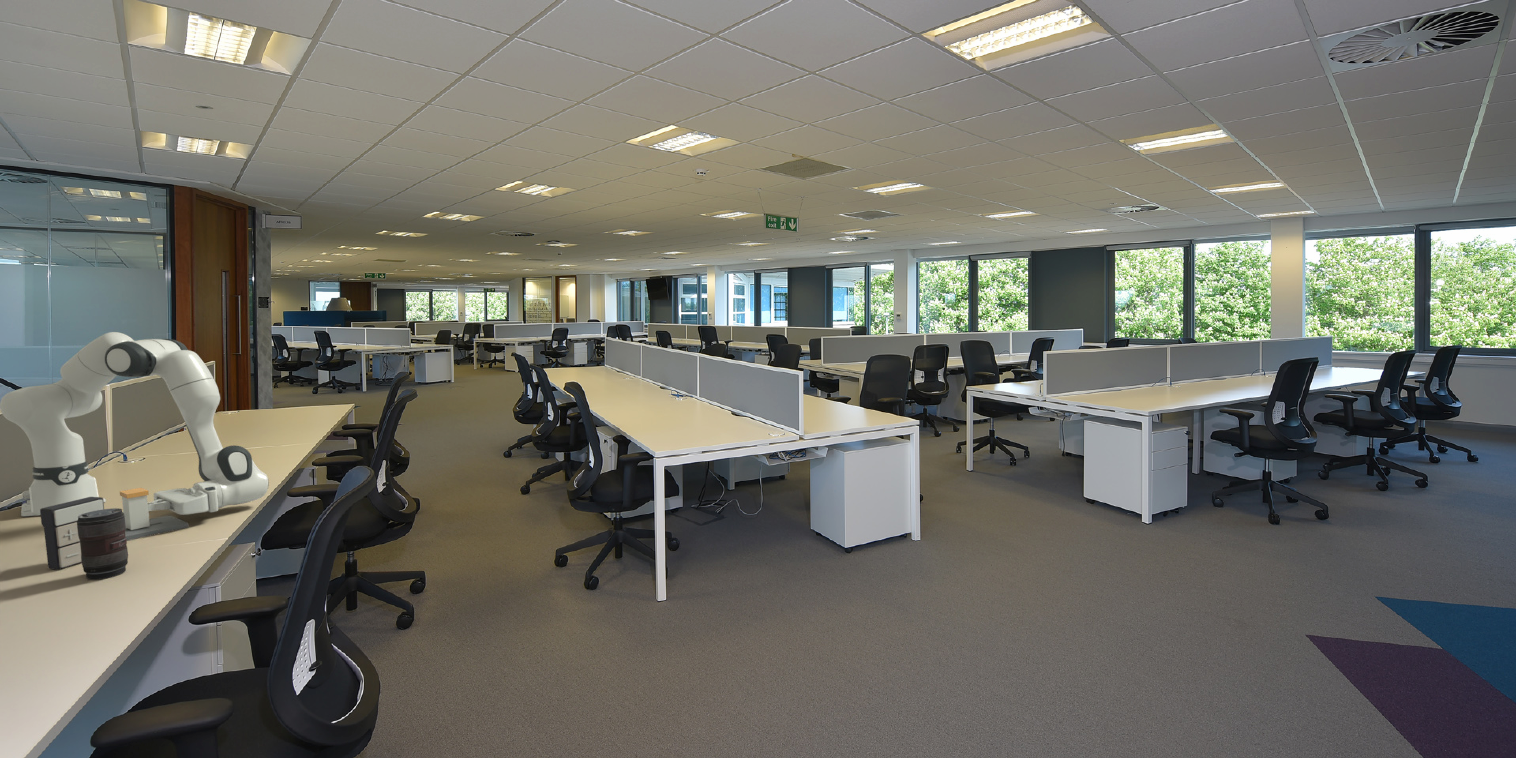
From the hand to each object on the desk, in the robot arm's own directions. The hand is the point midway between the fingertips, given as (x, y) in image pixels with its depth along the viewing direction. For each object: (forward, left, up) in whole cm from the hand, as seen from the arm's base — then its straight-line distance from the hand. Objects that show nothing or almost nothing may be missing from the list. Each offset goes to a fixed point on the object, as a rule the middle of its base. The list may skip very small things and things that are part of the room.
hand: (145, 507), depth 192 cm
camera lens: (+33, -17, -7) cm, 38 cm away
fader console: (0, -5, -6) cm, 8 cm away
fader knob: (0, -2, -5) cm, 5 cm away
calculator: (+17, -18, -7) cm, 26 cm away
